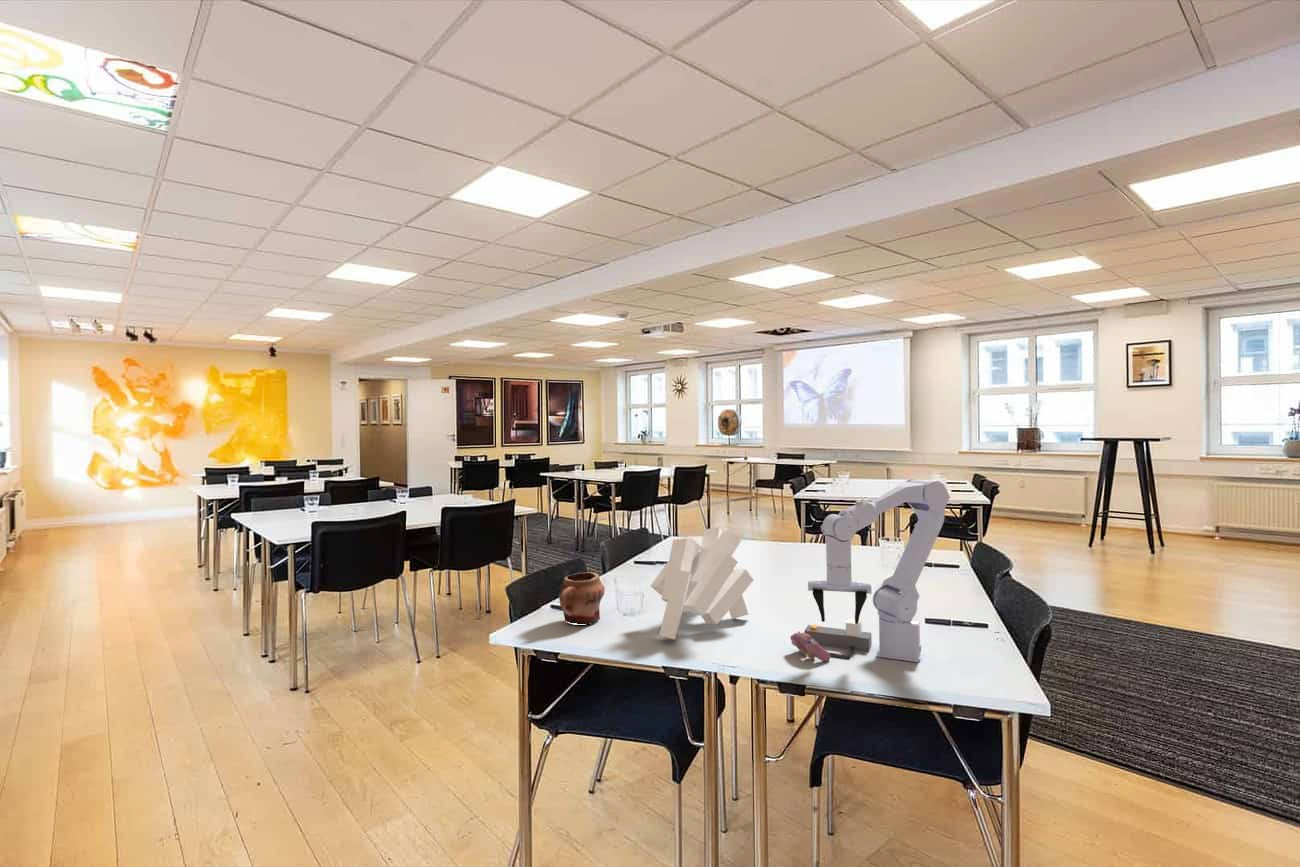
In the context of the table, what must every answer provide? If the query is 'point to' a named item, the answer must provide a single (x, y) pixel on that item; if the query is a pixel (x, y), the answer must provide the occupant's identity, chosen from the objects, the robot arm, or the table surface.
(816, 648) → the video game controller
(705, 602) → the pile of blocks
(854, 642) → the power strip
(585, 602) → the decorative planter
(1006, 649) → the table surface
